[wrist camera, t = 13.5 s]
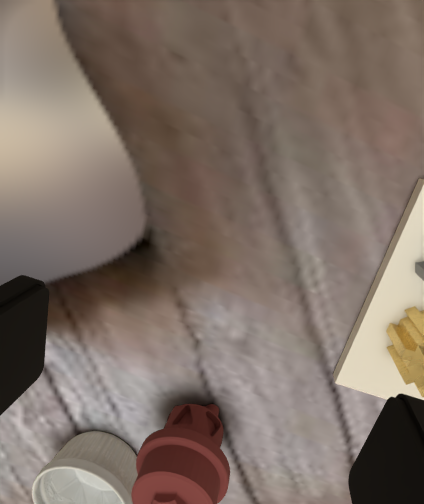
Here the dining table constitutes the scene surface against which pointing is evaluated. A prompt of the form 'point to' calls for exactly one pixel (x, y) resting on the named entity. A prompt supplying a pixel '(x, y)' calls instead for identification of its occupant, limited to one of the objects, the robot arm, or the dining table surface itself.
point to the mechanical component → (183, 460)
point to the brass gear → (409, 347)
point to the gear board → (387, 310)
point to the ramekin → (88, 472)
